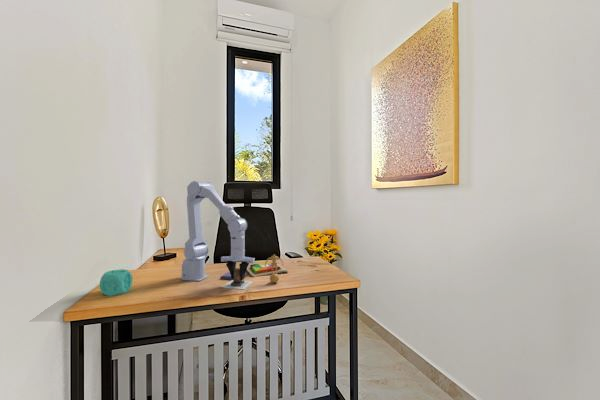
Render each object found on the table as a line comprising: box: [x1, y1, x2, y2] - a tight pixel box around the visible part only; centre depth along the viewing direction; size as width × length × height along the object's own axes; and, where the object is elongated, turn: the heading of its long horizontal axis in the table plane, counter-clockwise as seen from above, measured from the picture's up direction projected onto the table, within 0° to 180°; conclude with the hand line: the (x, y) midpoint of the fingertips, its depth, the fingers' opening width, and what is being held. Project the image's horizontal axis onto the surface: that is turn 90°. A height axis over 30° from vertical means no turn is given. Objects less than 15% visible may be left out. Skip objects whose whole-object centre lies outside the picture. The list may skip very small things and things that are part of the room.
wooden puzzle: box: [246, 260, 289, 278], centre depth 142 cm, size 18×19×4 cm
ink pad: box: [219, 271, 248, 281], centre depth 129 cm, size 10×7×1 cm
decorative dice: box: [99, 268, 133, 297], centre depth 109 cm, size 8×8×8 cm
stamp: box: [231, 267, 245, 286], centre depth 119 cm, size 4×4×6 cm
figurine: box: [264, 254, 284, 284], centre depth 123 cm, size 8×6×12 cm
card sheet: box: [221, 280, 254, 290], centre depth 119 cm, size 10×10×1 cm
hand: (237, 279), depth 119 cm, fingers closed on stamp, 3 cm apart
